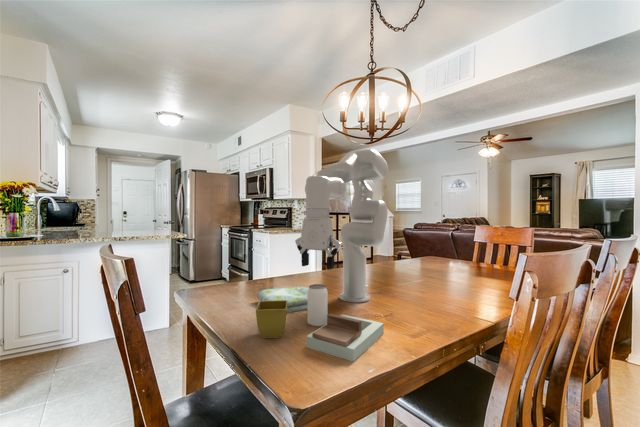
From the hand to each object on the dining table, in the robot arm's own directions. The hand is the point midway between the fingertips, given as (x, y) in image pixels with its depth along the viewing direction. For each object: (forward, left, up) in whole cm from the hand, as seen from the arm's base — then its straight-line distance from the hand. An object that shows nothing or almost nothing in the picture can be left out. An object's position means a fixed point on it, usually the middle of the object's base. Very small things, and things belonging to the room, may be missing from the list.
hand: (317, 267), depth 98 cm
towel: (-11, -20, -19) cm, 30 cm away
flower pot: (+15, -6, -18) cm, 24 cm away
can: (0, 0, -18) cm, 18 cm away
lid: (+12, +14, -15) cm, 24 cm away
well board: (+6, +14, -18) cm, 24 cm away
